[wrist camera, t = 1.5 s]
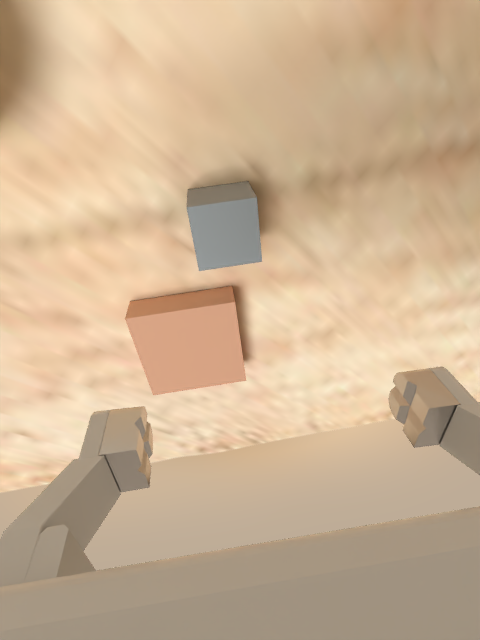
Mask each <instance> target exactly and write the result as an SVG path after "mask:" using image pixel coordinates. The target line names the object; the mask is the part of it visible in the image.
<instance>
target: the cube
mask: <svg viewBox="0 0 480 640" xmlns="http://www.w3.org/2000/svg"><path fill="white" fill-rule="evenodd" d="M187 212H188V217H189V222H190V227H191V232H192V237H193V242H194V247H195V252H196V257H197V262H198V267H199V271H203V270H209V269H216V268H223V267H229V266H236V265H243V264H250V263H256V262H262V255H261V243H260V230H259V217H258V205H257V197H256V195H255V193H254V191H253V189H252V187H251V186H250V184H249V182H248V181H244V182H237V183H230V184H223V185H216V186H209V187H202V188H195V189H188V193H187Z"/></svg>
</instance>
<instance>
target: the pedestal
mask: <svg viewBox="0 0 480 640" xmlns="http://www.w3.org/2000/svg"><path fill="white" fill-rule="evenodd" d="M125 320H126V322H127V325H128V328H129V331H130V333H131V336H132V339H133V341H134V344H135V347H136V350H137V352H138V355H139V358H140V360H141V363H142V366H143V368H144V371H145V374H146V377H147V379H148V382H149V385H150V387H151V390H152V393H153V395H158V394H164V393H170V392H177V391H183V390H189V389H196V388H202V387H208V386H215V385H221V384H227V383H233V382H240V381H246V376H245V369H244V361H243V354H242V347H241V340H240V333H239V326H238V319H237V312H236V305H235V299H234V293H233V288H232V286H229V287H222V288H215V289H209V290H202V291H196V292H189V293H182V294H176V295H169V296H162V297H156V298H149V299H143V300H136V301H130V304H129V307H128V311H127V314H126V318H125Z"/></svg>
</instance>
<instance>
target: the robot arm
mask: <svg viewBox="0 0 480 640" xmlns="http://www.w3.org/2000/svg"><path fill="white" fill-rule="evenodd" d="M393 382H394V384H395V385H396V386H395V387H394V388H393V389H392V390H391V391H390V394H389V406H390V409H391V412H392V414H393V415H394V417H395V419H396V420H398V421H400V422H401V423H403V424H404V427H403V431H404V433H405V434H406V436H407V438H408V439H409V441H410V442H411V444H412V445H413V447H414V448H415V447H423V446H431V445H440V446H441V447H442V448H443V449H445V450H446V451H447V452H449V453H450V454H451V455H453V456H454V457H456V458H457V459H458V460H460V461H461V462H462V463H464V464H465V465H466V466H468V467H469V468H471V469H472V470H474V471H475V472H476V473H478V474H479V475H480V402H477V401H476V400H475V399H474V398H473V397H472V396H471V395H470V394H469V392H468V391H467V390H466V389H465V388H464V387H463V386H462V385H461V384H460V383H459V382H458V381H457V380H456V379H455V378H454V376H453V375H452V374H451V373H450V372H449V371H448V370H447V369H446V368H444V367H435V368H428V369H420V370H413V371H406V372H399V373H397V374H396V375H395V376H394V379H393ZM152 453H153V435H152V429H151V425H150V423H148V422H147V412H146V409H145V407H144V406H142V407H132V408H123V409H113V410H107V411H97V412H94V413H93V414H92V416H91V418H90V421H89V425H88V428H87V432H86V435H85V439H84V442H83V446H82V449H81V453H80V456H79V459H74V460H73V461H72V462H71V463H70V464H69V465H68V466H67V467H66V468H65V469H64V470H63V471H62V472H61V473H60V474H59V475H58V476H57V477H56V478H55V479H54V480H53V481H52V482H51V483H50V484H49V486H48V487H47V488H46V489H45V490H44V491H43V492H42V493H41V494H40V495H39V496H38V497H37V498H36V499H35V500H34V501H33V502H32V503H31V504H30V505H29V506H28V507H27V508H26V509H25V510H24V511H23V512H22V513H21V515H19V517H18V518H17V519H16V520H15V521H14V522H13V523H12V524H11V525H10V526H9V527H8V528H7V529H6V530H5V531H4V532H3V534H2V537H1V539H0V640H480V506H479V507H473V508H467V509H461V510H455V511H449V512H443V513H438V514H431V515H425V516H420V517H413V518H407V519H401V520H396V521H389V522H383V523H377V524H371V525H365V526H359V527H354V528H348V529H341V530H336V531H329V532H324V533H318V534H312V535H306V536H300V537H294V538H288V539H282V540H276V541H271V542H264V543H258V544H252V545H246V546H240V547H234V548H228V549H222V550H217V551H211V552H205V553H199V554H193V555H187V556H181V557H175V558H169V559H163V560H157V561H151V562H145V563H139V564H134V565H127V566H121V567H115V568H109V569H104V570H97V571H96V570H95V569H94V567H93V565H92V564H91V562H90V561H89V559H88V558H87V556H86V555H85V553H84V552H83V551H84V550H85V548H86V547H87V545H88V543H89V542H90V540H91V539H92V537H93V536H94V534H95V533H96V531H97V530H98V528H99V527H100V525H101V524H102V522H103V520H104V519H105V518H106V516H107V515H108V513H109V511H110V510H111V508H112V507H113V505H114V504H115V502H116V501H117V499H118V498H119V496H120V495H121V493H120V492H126V491H131V490H136V489H142V488H148V487H149V486H150V475H151V465H150V461H149V458H150V456H151V455H152Z"/></svg>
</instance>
